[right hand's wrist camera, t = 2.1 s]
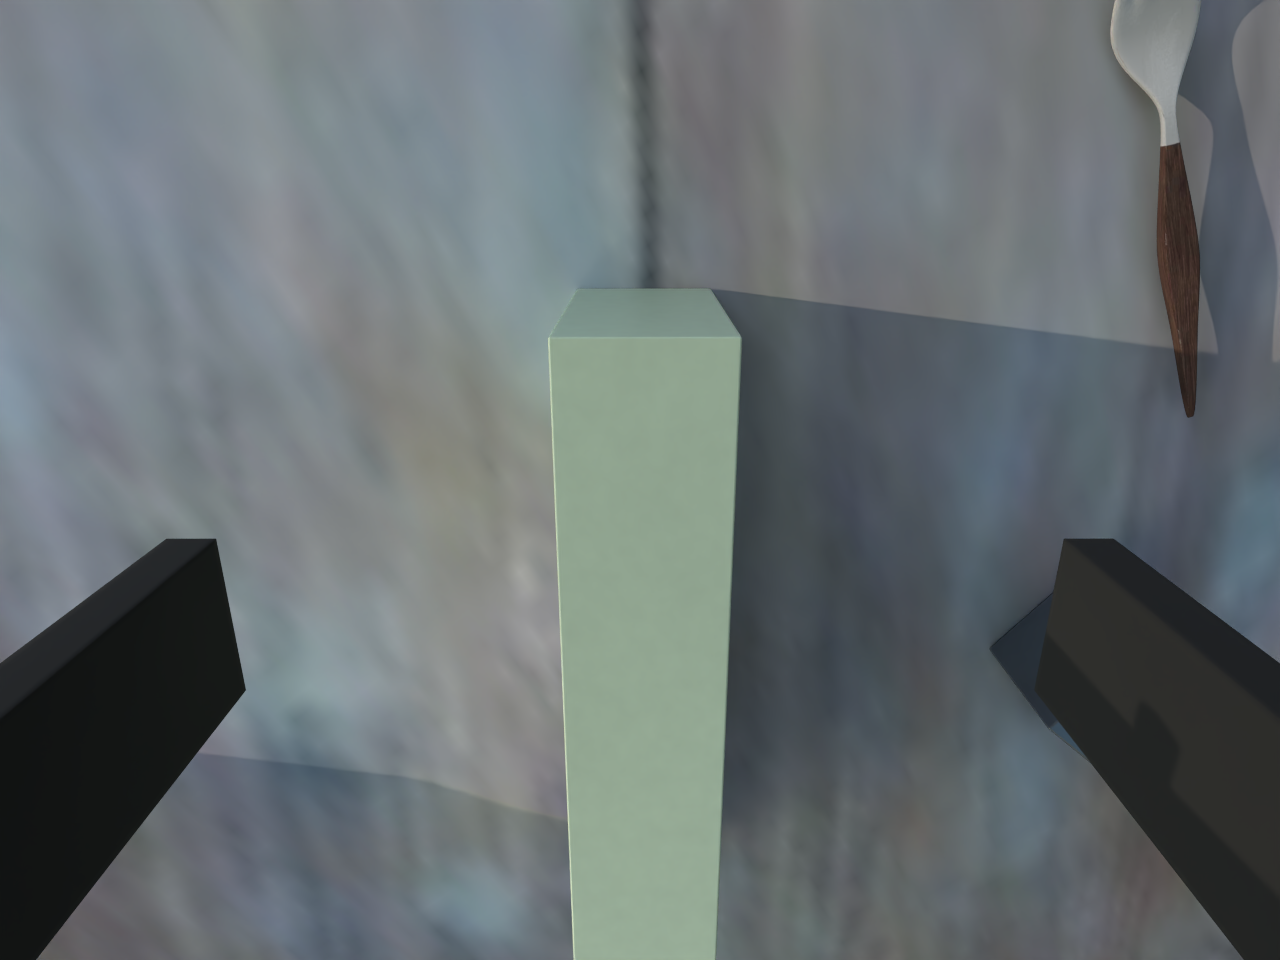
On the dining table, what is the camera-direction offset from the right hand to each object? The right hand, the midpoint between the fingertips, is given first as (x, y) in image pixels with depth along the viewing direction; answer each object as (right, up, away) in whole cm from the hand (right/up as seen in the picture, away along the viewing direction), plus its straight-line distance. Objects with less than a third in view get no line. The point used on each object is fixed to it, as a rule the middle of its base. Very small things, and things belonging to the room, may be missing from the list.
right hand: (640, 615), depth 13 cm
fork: (+17, +12, +13) cm, 24 cm away
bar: (0, -3, +19) cm, 19 cm away
